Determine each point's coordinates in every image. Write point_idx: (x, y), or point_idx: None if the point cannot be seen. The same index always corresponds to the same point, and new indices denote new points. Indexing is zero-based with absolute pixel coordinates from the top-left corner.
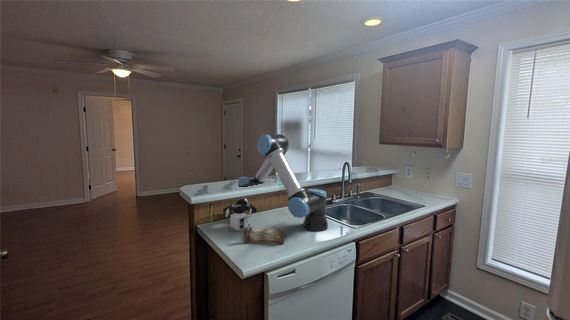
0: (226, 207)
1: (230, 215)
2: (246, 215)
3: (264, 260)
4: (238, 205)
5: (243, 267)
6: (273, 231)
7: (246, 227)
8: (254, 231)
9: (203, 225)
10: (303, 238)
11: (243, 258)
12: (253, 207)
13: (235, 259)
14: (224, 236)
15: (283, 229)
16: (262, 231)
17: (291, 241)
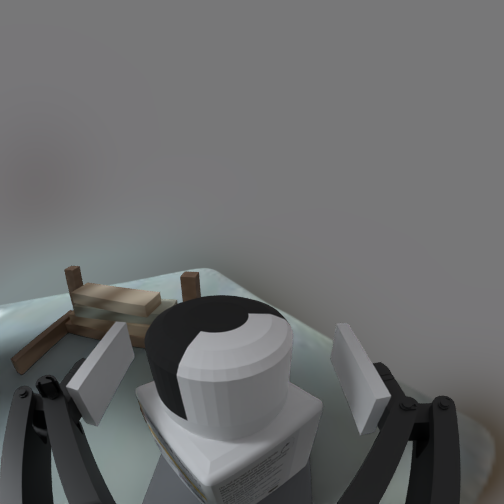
0: (441, 439)
1: (320, 402)
2: (152, 381)
3: (162, 279)
4: (229, 336)
5: (211, 270)
6: (92, 286)
7: (186, 276)
8: (155, 293)
9: (489, 443)
10: (14, 325)
11: (209, 284)
12: (37, 382)
13: (229, 282)
14: (302, 370)
15: (70, 267)
16: (127, 288)
17: (51, 321)
